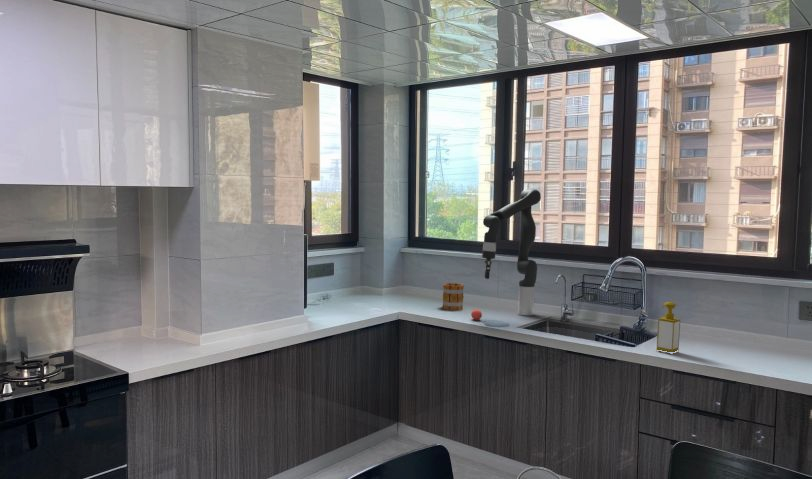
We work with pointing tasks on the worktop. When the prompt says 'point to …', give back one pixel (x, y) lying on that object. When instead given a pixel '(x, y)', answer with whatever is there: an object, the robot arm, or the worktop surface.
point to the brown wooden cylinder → (452, 296)
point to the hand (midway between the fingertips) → (486, 277)
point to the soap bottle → (668, 330)
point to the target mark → (496, 323)
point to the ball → (476, 314)
